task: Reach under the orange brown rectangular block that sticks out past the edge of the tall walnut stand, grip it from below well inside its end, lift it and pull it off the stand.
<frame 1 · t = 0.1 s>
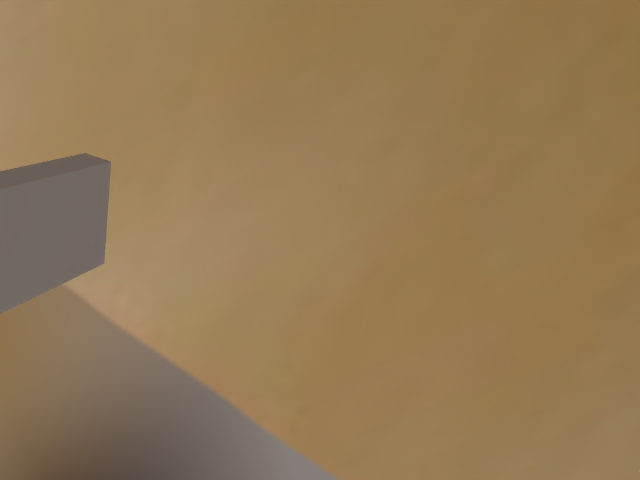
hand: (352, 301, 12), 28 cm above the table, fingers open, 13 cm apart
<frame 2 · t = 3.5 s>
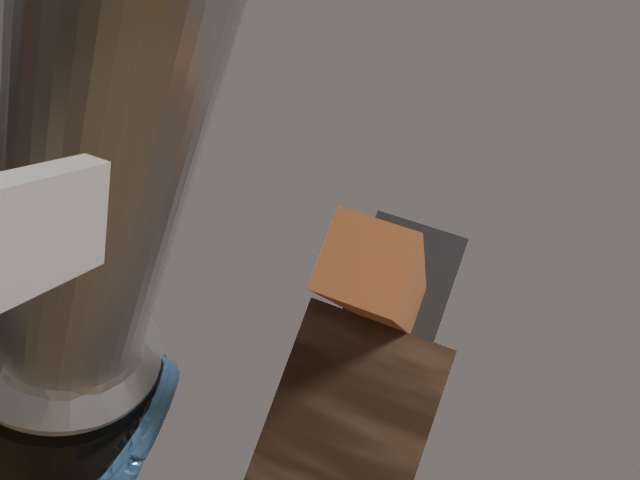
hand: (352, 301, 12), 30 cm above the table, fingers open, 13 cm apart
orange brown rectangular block: (388, 327, 42), point 30 cm above the table, touching stand
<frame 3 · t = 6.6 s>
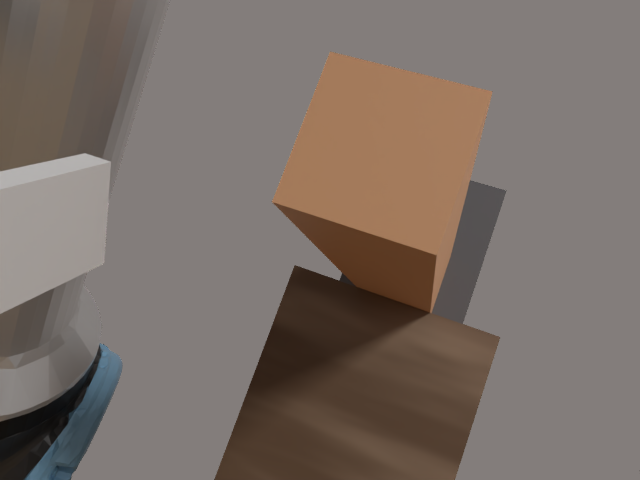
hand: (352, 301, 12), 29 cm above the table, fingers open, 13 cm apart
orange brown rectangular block: (398, 309, 32), point 30 cm above the table, touching stand
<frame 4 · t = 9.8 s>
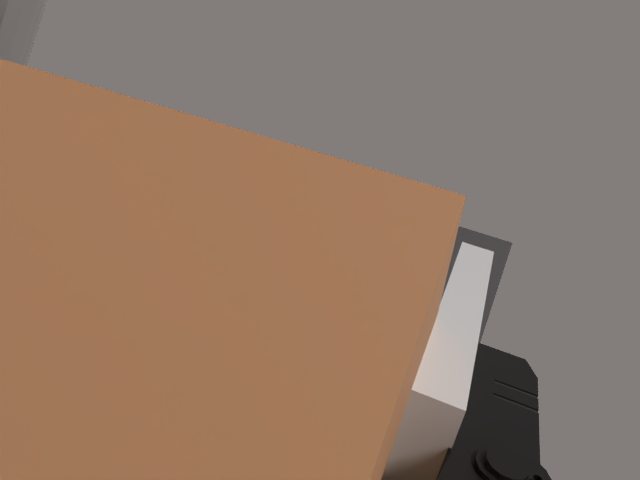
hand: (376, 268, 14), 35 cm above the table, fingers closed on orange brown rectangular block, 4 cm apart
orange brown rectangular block: (360, 407, 22), point 30 cm above the table, touching gripper, stand
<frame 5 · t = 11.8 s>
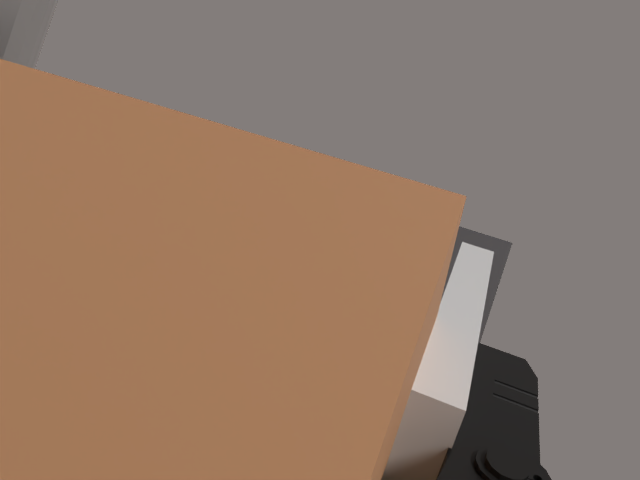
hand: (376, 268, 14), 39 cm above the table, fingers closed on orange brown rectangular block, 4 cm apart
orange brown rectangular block: (360, 407, 22), point 34 cm above the table, touching gripper
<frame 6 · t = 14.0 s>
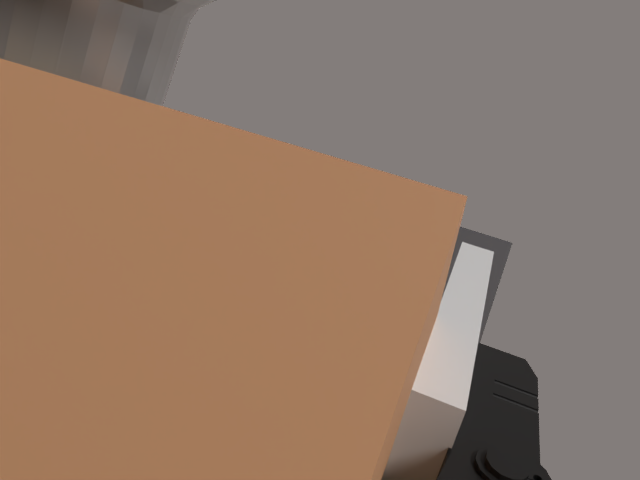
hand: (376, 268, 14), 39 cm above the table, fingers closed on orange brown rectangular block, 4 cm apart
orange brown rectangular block: (360, 407, 22), point 34 cm above the table, touching gripper
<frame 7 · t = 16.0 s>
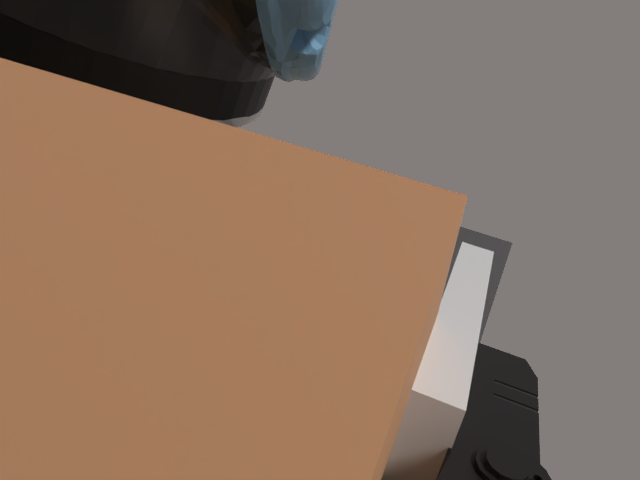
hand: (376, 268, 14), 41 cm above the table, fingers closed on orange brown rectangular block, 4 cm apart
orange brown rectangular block: (359, 407, 22), point 36 cm above the table, touching gripper
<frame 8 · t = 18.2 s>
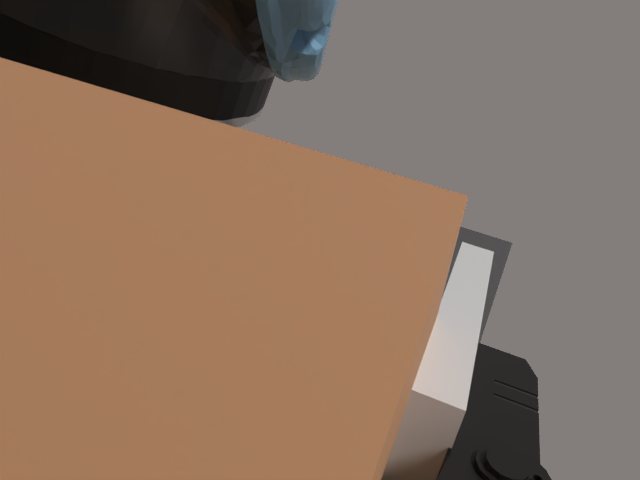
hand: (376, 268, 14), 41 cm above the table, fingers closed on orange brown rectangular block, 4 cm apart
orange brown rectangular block: (359, 407, 22), point 36 cm above the table, touching gripper
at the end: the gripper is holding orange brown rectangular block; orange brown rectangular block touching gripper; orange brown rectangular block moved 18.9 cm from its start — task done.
